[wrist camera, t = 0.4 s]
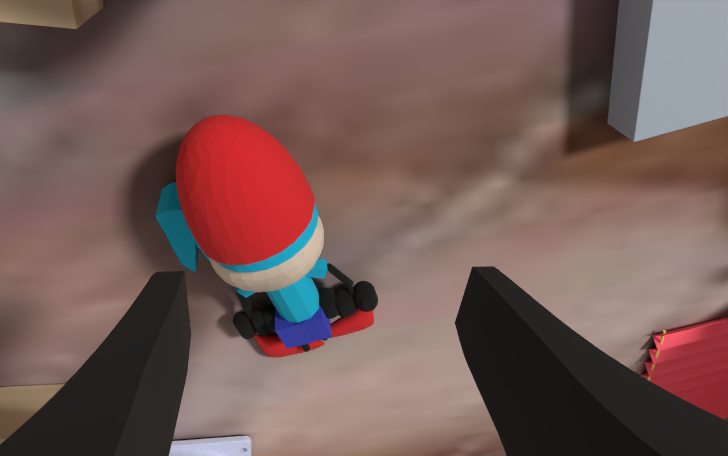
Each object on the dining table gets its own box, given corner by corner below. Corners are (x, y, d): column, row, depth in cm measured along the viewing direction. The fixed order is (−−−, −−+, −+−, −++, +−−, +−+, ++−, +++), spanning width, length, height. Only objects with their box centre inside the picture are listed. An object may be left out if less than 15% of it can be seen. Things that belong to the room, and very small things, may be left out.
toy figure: (381, 294, 28) (306, 60, 18) (396, 371, 25) (315, 141, 14) (257, 323, 29) (109, 113, 18) (255, 403, 26) (73, 203, 15)
